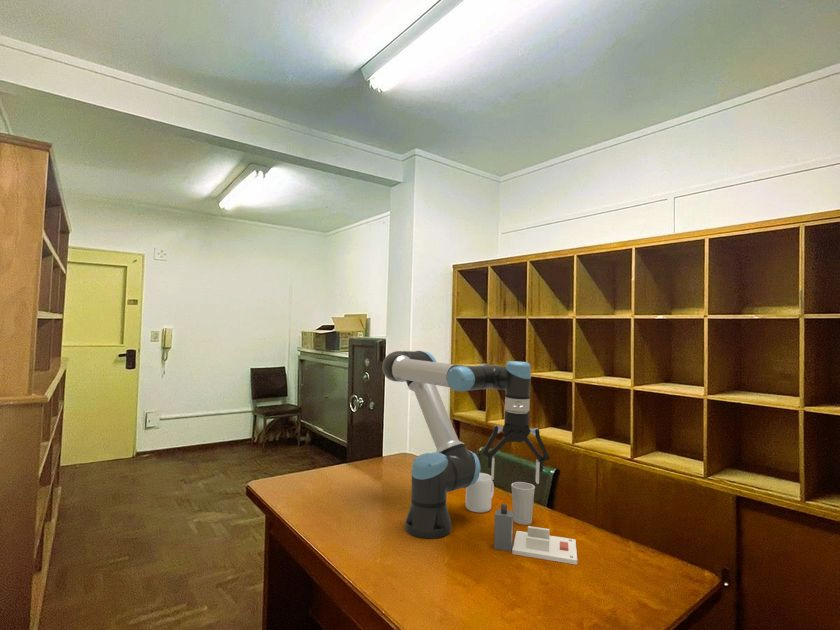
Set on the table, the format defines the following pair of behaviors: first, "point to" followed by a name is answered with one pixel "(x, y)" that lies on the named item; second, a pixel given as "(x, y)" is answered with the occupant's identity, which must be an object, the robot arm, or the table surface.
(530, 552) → the socket
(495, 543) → the plug
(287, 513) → the table surface
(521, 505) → the cup
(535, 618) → the table surface
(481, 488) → the mug
